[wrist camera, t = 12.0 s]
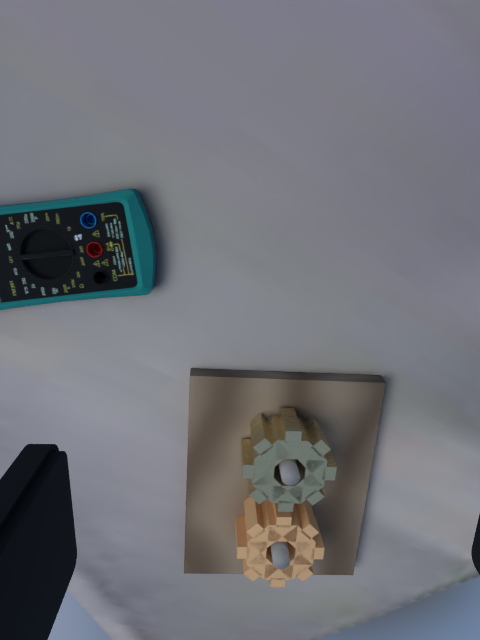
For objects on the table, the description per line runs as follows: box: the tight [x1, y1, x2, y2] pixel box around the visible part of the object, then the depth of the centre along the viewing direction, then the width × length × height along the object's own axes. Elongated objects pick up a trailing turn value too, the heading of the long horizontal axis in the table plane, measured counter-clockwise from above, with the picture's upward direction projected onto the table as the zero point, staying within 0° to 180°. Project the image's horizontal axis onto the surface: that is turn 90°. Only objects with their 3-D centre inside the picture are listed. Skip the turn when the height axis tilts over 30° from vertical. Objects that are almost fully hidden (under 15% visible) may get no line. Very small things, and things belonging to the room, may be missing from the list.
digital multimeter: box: [0, 189, 156, 310], centre depth 33 cm, size 8×15×3 cm, turn 96°
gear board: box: [184, 368, 386, 575], centre depth 38 cm, size 16×20×6 cm
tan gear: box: [235, 496, 325, 587], centre depth 39 cm, size 7×7×4 cm
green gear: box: [240, 408, 337, 512], centre depth 36 cm, size 7×7×4 cm
